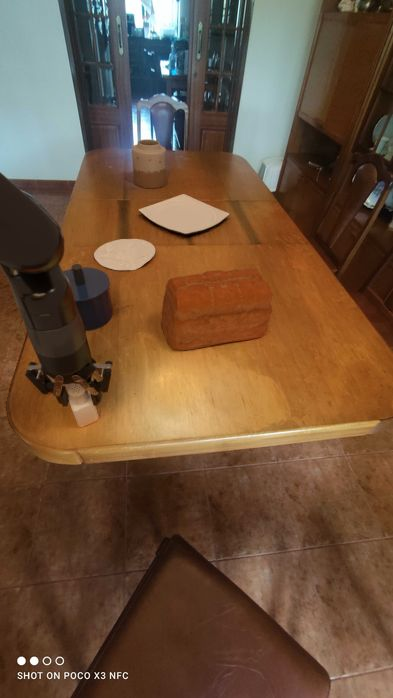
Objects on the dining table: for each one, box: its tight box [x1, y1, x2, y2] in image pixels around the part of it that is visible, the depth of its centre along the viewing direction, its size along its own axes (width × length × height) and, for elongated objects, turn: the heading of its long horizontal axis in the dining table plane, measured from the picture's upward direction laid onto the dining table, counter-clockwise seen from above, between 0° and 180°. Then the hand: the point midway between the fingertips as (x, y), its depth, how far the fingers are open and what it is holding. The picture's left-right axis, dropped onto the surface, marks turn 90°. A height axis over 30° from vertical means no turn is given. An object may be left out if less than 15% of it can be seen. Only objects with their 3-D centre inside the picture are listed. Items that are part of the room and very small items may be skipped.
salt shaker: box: [68, 383, 100, 428], centre depth 60 cm, size 4×4×10 cm
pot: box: [76, 287, 114, 332], centre depth 81 cm, size 13×13×10 cm
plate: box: [138, 193, 230, 236], centre depth 126 cm, size 29×29×3 cm
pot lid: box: [63, 263, 111, 302], centre depth 76 cm, size 14×14×6 cm
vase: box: [131, 138, 167, 190], centre depth 145 cm, size 15×15×17 cm
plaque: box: [93, 238, 156, 271], centre depth 105 cm, size 20×20×2 cm
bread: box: [160, 268, 274, 351], centre depth 78 cm, size 14×27×15 cm, turn 106°
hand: (81, 401), depth 59 cm, fingers closed on salt shaker, 5 cm apart
